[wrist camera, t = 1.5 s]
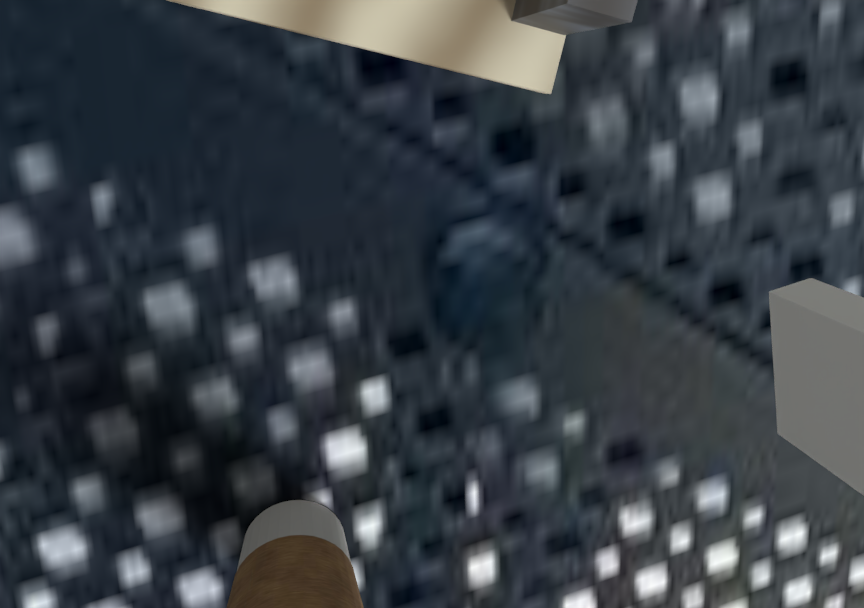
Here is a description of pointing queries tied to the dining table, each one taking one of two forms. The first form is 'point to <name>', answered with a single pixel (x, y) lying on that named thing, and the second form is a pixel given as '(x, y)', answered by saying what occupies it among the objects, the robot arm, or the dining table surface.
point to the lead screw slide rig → (444, 30)
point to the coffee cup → (295, 561)
